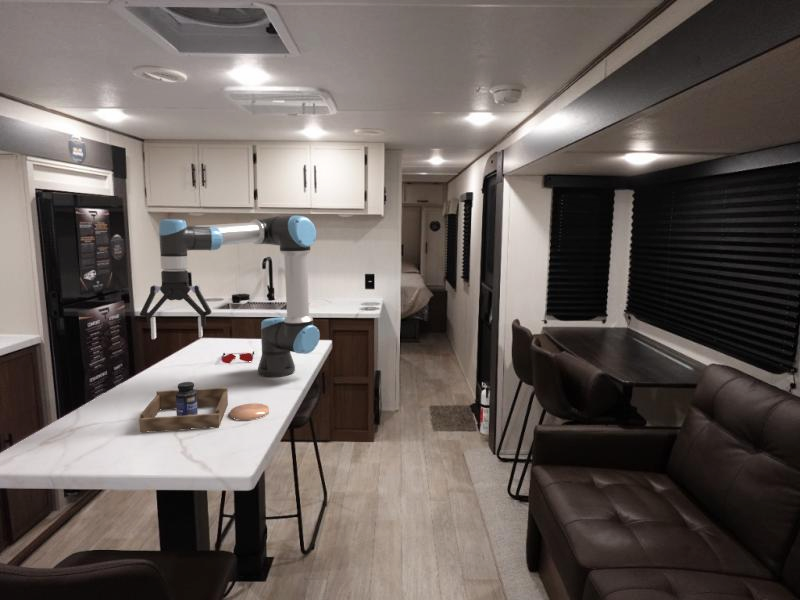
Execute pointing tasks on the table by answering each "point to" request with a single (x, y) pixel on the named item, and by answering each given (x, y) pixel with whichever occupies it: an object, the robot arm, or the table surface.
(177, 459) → the table surface
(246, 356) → the glasses
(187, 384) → the pill bottle
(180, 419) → the frame
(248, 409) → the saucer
